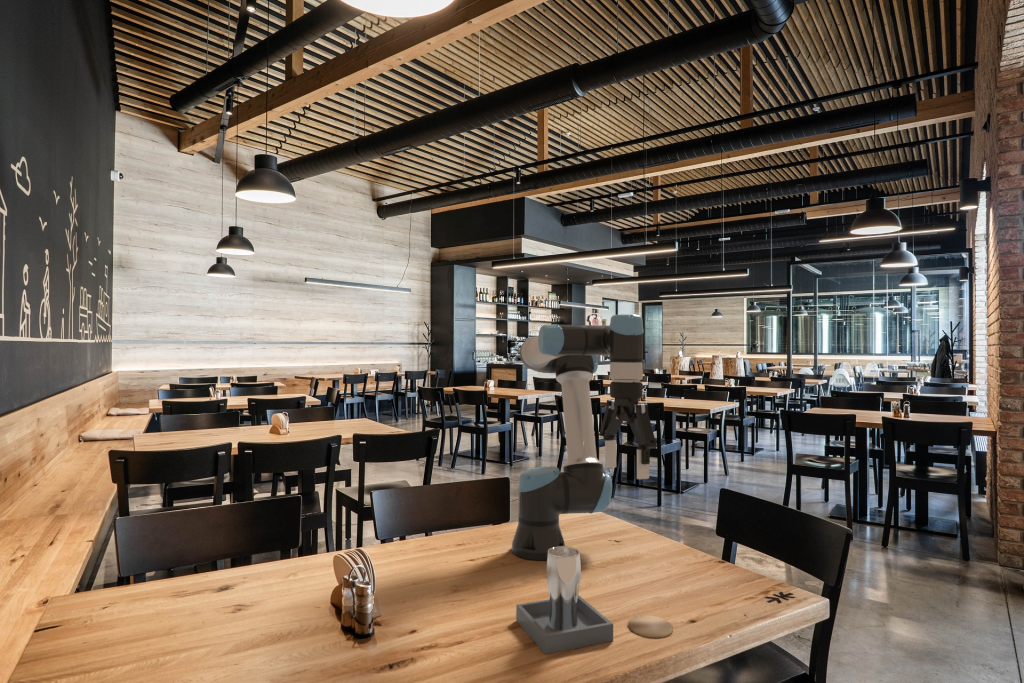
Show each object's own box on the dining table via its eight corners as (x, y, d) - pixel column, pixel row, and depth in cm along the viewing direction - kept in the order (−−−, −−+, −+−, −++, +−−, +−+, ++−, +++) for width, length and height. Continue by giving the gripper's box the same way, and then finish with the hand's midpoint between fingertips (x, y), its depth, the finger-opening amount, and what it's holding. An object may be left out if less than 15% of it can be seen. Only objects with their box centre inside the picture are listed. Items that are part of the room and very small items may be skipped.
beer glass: (579, 636, 112) (579, 558, 113) (543, 632, 114) (544, 555, 114) (581, 620, 119) (582, 547, 119) (548, 616, 120) (549, 544, 121)
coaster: (619, 621, 120) (619, 619, 120) (655, 614, 124) (655, 612, 124) (644, 641, 112) (644, 639, 112) (682, 633, 115) (682, 631, 115)
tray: (516, 620, 120) (516, 604, 120) (578, 609, 126) (578, 594, 126) (545, 654, 107) (545, 636, 107) (613, 640, 112) (613, 623, 112)
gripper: (673, 383, 123) (673, 482, 123) (612, 378, 146) (611, 462, 146) (643, 383, 120) (643, 485, 120) (586, 379, 144) (585, 464, 143)
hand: (626, 472), depth 133 cm, fingers open, 13 cm apart
